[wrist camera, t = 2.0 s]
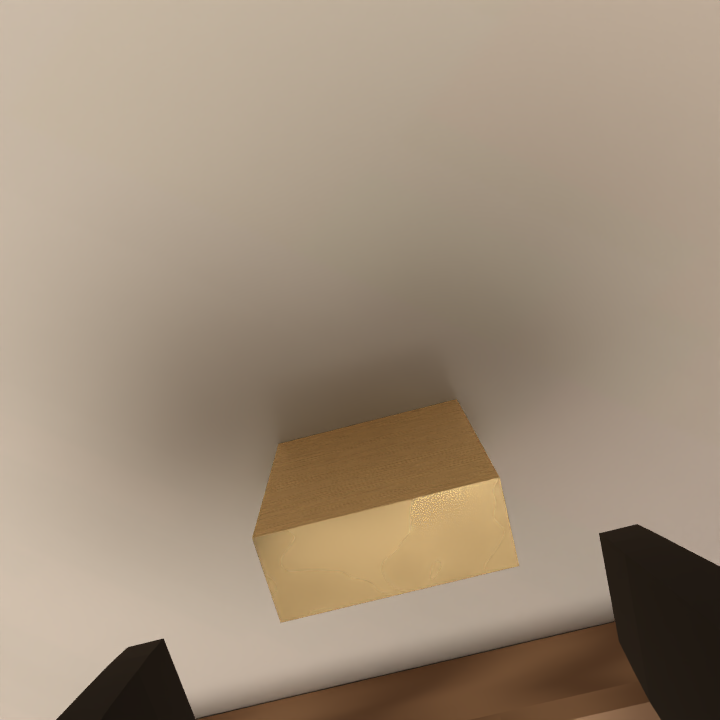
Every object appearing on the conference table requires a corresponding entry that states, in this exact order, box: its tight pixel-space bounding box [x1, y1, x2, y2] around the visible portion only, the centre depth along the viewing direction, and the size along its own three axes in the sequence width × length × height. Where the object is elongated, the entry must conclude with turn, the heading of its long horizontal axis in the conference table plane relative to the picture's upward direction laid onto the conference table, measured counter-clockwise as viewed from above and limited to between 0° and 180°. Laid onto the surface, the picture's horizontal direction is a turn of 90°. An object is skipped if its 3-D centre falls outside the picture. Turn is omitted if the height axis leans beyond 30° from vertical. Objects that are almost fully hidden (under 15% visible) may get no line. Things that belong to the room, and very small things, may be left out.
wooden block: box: [252, 399, 519, 622], centre depth 15 cm, size 5×2×5 cm, turn 104°
